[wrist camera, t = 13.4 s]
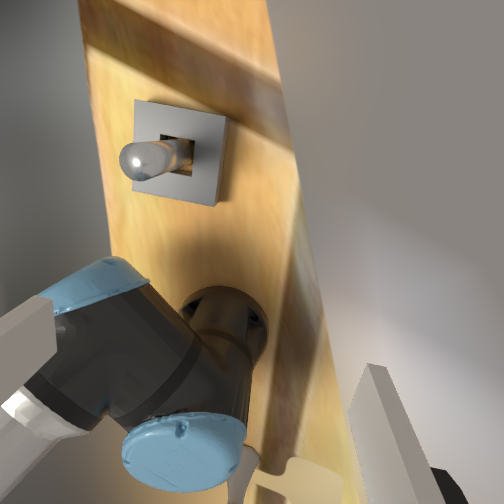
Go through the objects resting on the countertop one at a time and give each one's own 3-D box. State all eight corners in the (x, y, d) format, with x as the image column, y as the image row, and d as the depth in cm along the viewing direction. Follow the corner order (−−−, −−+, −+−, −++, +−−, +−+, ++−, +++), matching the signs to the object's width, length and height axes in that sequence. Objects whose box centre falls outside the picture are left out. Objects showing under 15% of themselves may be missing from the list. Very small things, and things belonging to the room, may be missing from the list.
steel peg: (194, 167, 41) (154, 184, 28) (170, 162, 41) (118, 177, 28) (197, 141, 40) (156, 146, 27) (172, 136, 40) (119, 139, 27)
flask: (238, 437, 60) (229, 493, 51) (266, 455, 61) (263, 513, 52) (216, 455, 62) (205, 511, 53) (244, 472, 64) (238, 530, 54)
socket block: (218, 201, 43) (213, 206, 40) (141, 187, 43) (132, 190, 40) (229, 117, 39) (225, 116, 36) (145, 101, 39) (134, 99, 36)
